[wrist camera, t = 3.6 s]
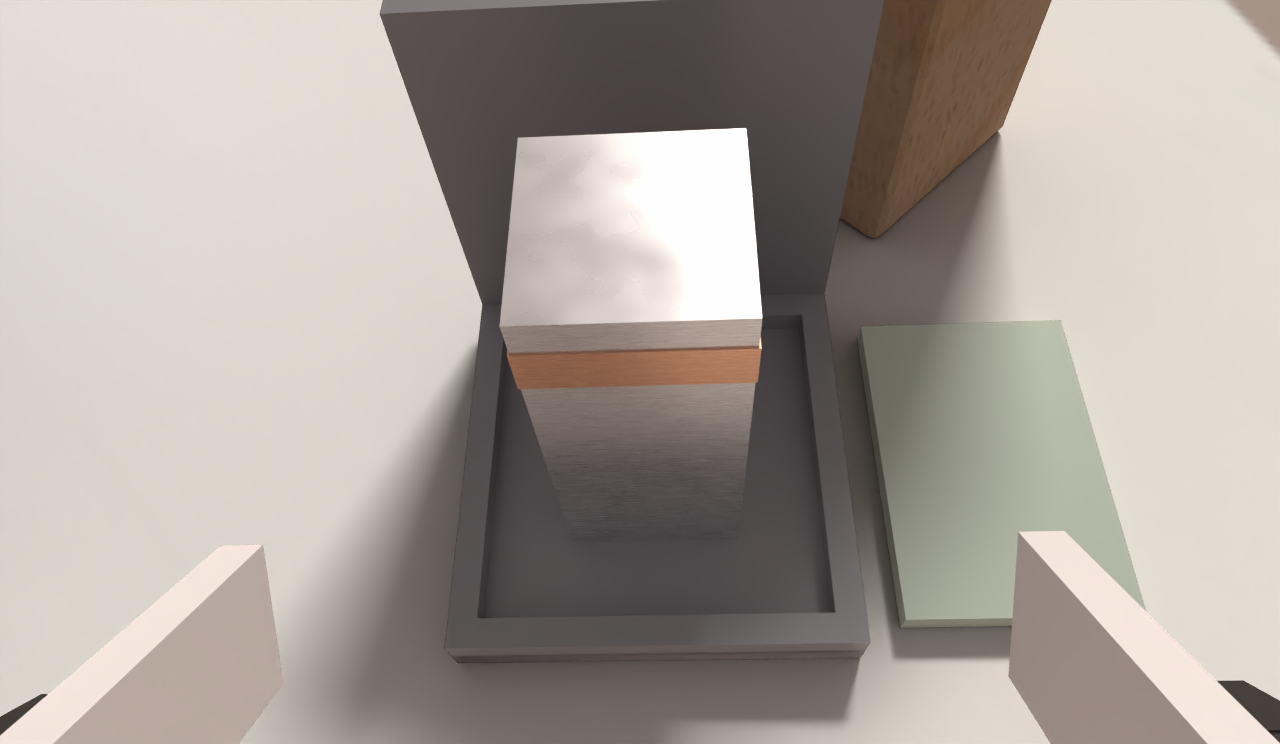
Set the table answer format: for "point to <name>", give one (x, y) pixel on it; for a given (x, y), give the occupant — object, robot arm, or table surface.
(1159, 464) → the table surface
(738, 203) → the block
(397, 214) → the table surface
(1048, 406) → the sage board
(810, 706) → the table surface
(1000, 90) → the wooden block
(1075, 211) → the table surface
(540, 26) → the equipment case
